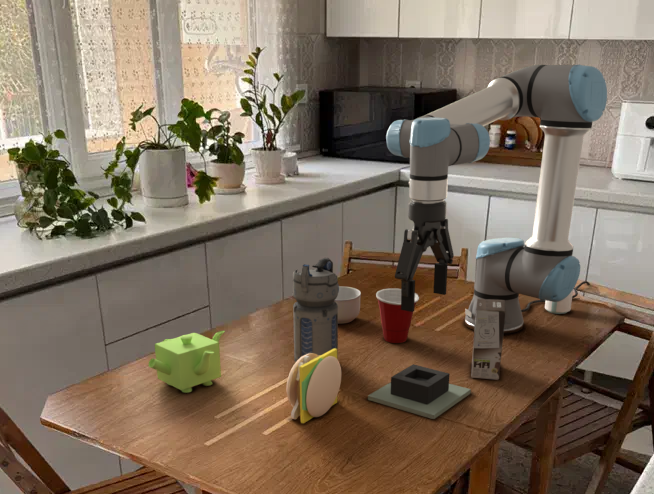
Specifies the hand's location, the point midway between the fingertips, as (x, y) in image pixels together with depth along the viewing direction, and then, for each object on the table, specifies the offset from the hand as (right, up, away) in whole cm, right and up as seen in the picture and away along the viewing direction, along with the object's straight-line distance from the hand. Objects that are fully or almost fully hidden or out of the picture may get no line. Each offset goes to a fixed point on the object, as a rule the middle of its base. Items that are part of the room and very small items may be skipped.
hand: (424, 301), depth 164 cm
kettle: (-50, -17, +9) cm, 54 cm away
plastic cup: (-3, -6, +35) cm, 36 cm away
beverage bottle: (-23, -13, +20) cm, 33 cm away
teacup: (-18, 0, +50) cm, 53 cm away
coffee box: (+16, -15, +15) cm, 26 cm away
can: (+44, +3, +56) cm, 72 cm away
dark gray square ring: (-1, -19, +2) cm, 19 cm away
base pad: (-1, -20, +2) cm, 20 cm away
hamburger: (-23, -23, -4) cm, 33 cm away
